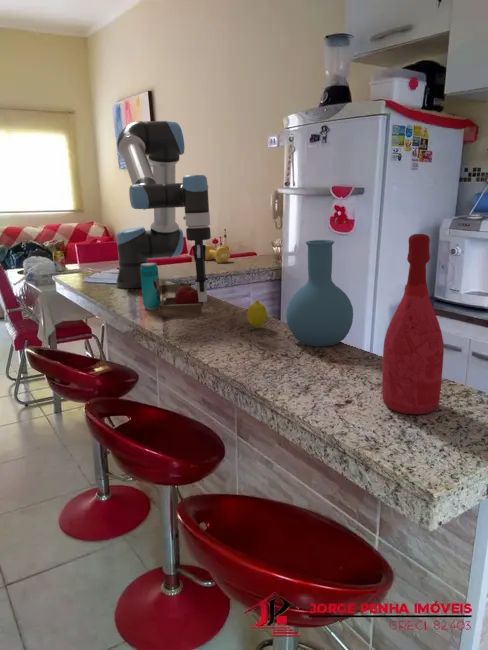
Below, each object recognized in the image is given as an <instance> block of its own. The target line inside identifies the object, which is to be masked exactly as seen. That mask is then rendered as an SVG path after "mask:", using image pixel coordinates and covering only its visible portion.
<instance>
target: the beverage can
mask: <svg viewBox="0 0 488 650" xmlns="http://www.w3.org/2000/svg"><path fill="white" fill-rule="evenodd" d="M140 273H141V284H142V287H141V293H142V304H143V306H144V308H145V309H146V310H148V311H153V310H159V309H158V306H159V304H160V302H161V301H162V299H161V291H160V290H161V289H160V279H159V278H160V277H159V268H158V264H157V263H156V262H148V263H143V264H141V268H140Z"/></svg>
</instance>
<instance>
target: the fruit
mask: <svg viewBox="0 0 488 650" xmlns="http://www.w3.org/2000/svg"><path fill="white" fill-rule="evenodd" d="M246 318H247V321H248V322H249V324H250V325H251V326H254V327H255V328H256V329H261V327H262V326H263V325H264V324H265V322H266V321H267V318H268V313H267V309H266V306H265V305H264V304H263V303H260V302H259V300H255V302H254V303H252V304H250V305H249V306H248V309H247V311H246Z"/></svg>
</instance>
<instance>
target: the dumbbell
mask: <svg viewBox="0 0 488 650" xmlns="http://www.w3.org/2000/svg"><path fill="white" fill-rule="evenodd" d="M205 245H206V251H205V254H206V258H205V261H211V260H214V259H215V261H216V262H217V263H218V264H224V263H227V262H228V261H229V259H230V258H231V253H230V252H231V251H230V250H229V249H228V247H227V246H219V247H216V249H215V247H214V246H213V245H211V244H205Z"/></svg>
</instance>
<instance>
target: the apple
mask: <svg viewBox="0 0 488 650" xmlns="http://www.w3.org/2000/svg"><path fill="white" fill-rule="evenodd" d="M174 297H175V301H176V304H177V305H179V304H197V303H198V290H197V289H195V288H194V286H190V285H182V286H180V287H179V288H178V289H177V291H175V296H174Z"/></svg>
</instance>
